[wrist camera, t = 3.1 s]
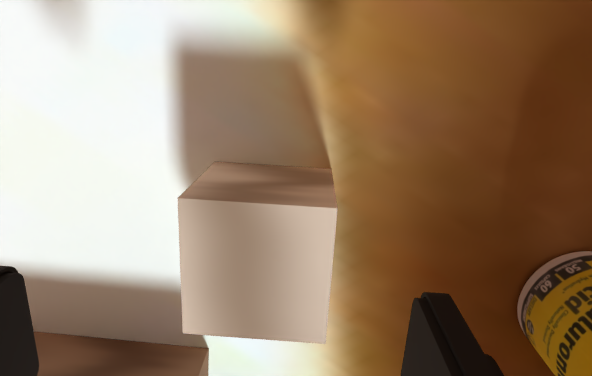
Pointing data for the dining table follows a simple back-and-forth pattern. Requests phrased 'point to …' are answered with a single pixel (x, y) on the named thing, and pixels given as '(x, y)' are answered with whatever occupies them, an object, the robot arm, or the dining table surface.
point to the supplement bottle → (560, 313)
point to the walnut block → (116, 357)
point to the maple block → (257, 252)
